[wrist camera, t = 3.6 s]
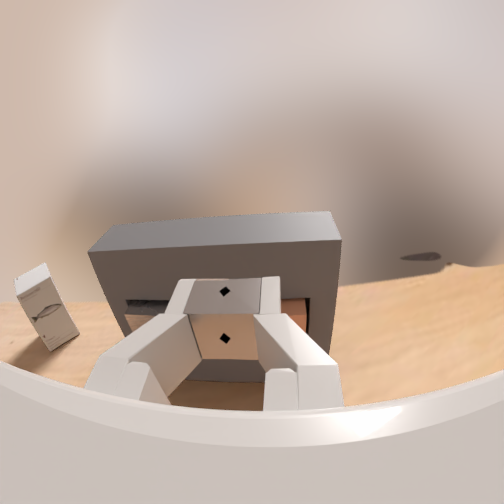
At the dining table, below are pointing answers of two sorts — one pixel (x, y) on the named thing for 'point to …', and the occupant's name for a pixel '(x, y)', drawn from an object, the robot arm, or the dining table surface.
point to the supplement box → (45, 307)
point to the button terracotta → (295, 310)
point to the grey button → (144, 311)
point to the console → (225, 268)
